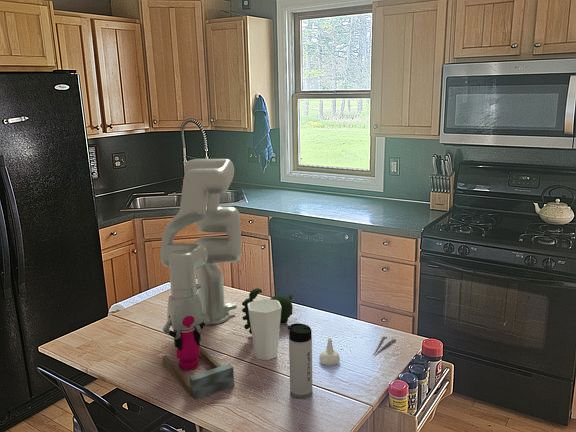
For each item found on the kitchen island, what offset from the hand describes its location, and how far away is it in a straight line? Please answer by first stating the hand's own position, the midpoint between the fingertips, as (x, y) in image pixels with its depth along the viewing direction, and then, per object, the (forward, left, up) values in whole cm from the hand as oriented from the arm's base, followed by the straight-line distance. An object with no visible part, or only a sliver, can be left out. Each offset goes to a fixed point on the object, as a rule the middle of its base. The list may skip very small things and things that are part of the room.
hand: (187, 345), depth 157 cm
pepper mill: (0, 0, -7) cm, 7 cm away
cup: (-23, +8, -7) cm, 25 cm away
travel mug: (-20, +32, -7) cm, 38 cm away
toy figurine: (-34, -7, -7) cm, 35 cm away
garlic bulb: (-37, +23, -7) cm, 44 cm away
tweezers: (-55, +26, -7) cm, 62 cm away
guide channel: (0, +6, -7) cm, 9 cm away
